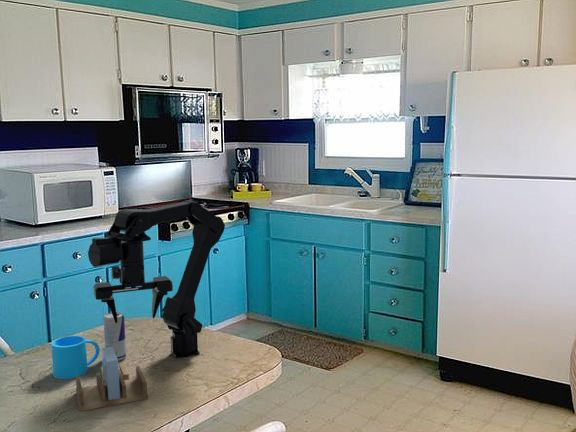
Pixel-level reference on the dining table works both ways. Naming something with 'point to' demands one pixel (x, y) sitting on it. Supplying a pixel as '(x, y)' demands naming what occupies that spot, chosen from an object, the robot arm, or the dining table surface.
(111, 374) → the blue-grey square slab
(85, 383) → the dining table surface
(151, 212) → the robot arm
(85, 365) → the mug
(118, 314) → the energy drink
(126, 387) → the rack
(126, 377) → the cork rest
